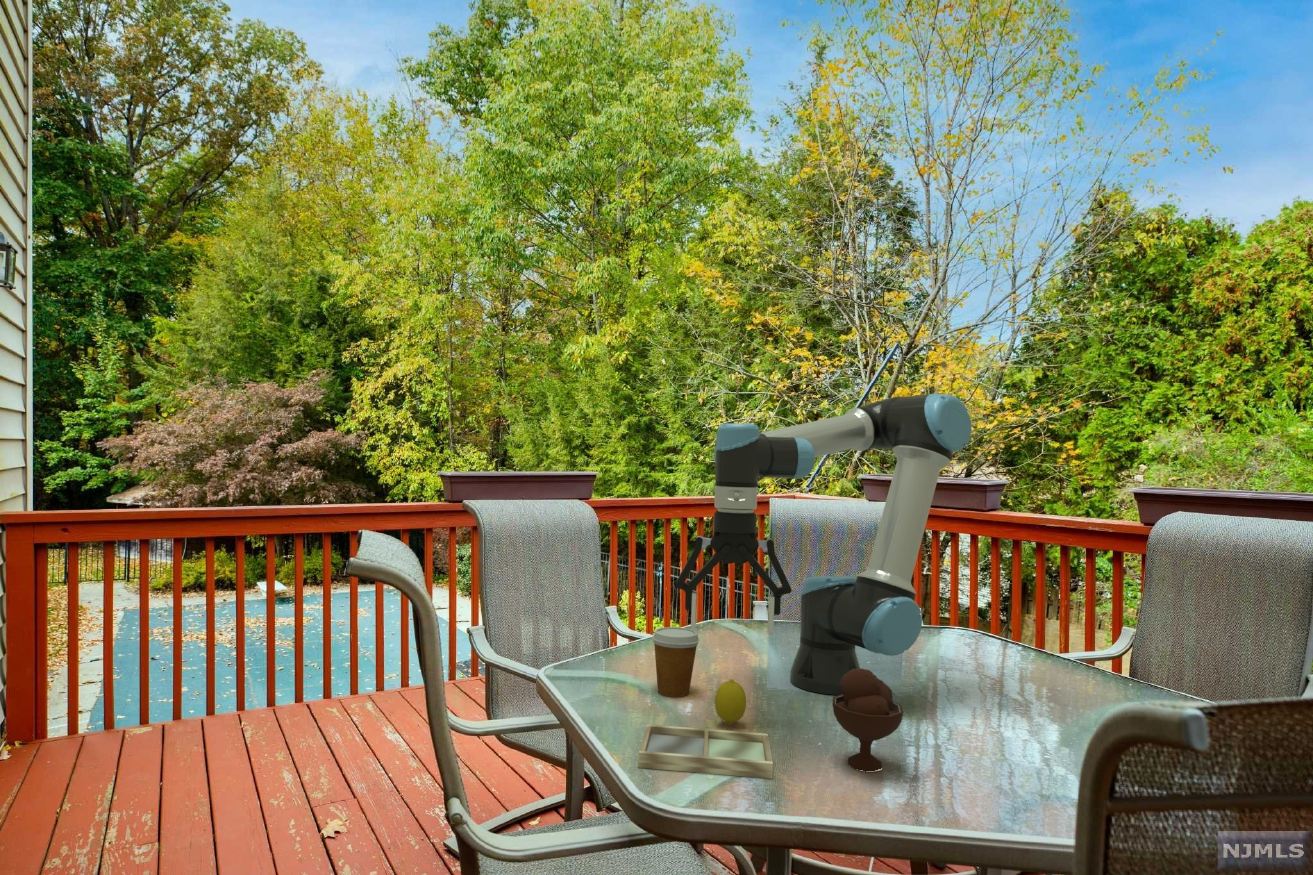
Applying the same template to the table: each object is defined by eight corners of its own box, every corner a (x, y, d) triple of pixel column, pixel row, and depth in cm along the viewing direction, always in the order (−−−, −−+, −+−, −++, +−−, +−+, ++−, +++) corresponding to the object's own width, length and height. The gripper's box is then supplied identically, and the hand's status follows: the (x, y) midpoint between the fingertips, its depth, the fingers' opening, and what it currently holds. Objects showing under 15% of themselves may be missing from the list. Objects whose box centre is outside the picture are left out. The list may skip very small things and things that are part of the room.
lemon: (711, 719, 132) (713, 674, 132) (741, 719, 133) (743, 675, 133) (716, 730, 127) (718, 683, 127) (748, 730, 127) (750, 684, 127)
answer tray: (767, 747, 120) (767, 733, 120) (772, 778, 108) (772, 763, 108) (646, 737, 122) (646, 724, 122) (638, 767, 110) (638, 752, 110)
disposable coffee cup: (693, 702, 141) (696, 639, 141) (645, 696, 143) (647, 635, 143) (700, 687, 150) (702, 628, 151) (654, 682, 152) (657, 624, 153)
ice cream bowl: (892, 786, 107) (896, 683, 108) (819, 766, 113) (822, 669, 114) (909, 763, 116) (912, 668, 117) (840, 745, 122) (844, 655, 123)
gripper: (663, 509, 127) (659, 632, 126) (809, 515, 125) (805, 639, 124) (666, 506, 134) (662, 622, 134) (803, 511, 132) (800, 629, 132)
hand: (731, 631), depth 129 cm, fingers open, 13 cm apart
